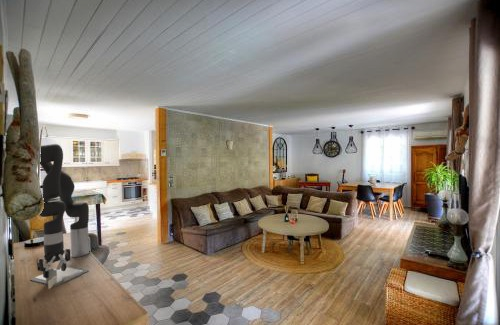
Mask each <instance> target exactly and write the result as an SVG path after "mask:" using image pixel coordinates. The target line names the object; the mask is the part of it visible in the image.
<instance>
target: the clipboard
mask: <svg viewBox="0 0 500 325" xmlns="http://www.w3.org/2000/svg"><path fill="white" fill-rule="evenodd" d="M89 271H90V270H88V269H83V268H78V267H74V266H68V265H66V270H65V271H61V268H60V270H57V282H56V283H55V284H54V285H53V287H54V288H55V287H58V286H60V285H63V284H64V283H67V282H68V281H70V280H71V281H72V280H73V279H76V278H78V277H79V276H81V275H85V274H86V273H89ZM31 280H32V281H31ZM29 281H31V282H35V283H40V284H43V283H44V284H45V285H47V286H48V281H49V280H48V281H46V278H44V277H43V273H42V274H40V275H37V276H34V277H32V278H30V279H29ZM44 284H43V285H44Z"/></svg>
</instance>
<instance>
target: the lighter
mask: <svg viewBox="0 0 500 325" xmlns="http://www.w3.org/2000/svg"><path fill="white" fill-rule="evenodd" d="M63 262H64V261H59V263H58V265H57V267H56V268H54V267H51V268H50V267H49V269H48V270H49V278H46V281H48V280H51V279H52V278H53V277H55V276H57V270H60V268H61V266H62V264H63Z"/></svg>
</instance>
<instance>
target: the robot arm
mask: <svg viewBox="0 0 500 325" xmlns="http://www.w3.org/2000/svg"><path fill="white" fill-rule="evenodd" d="M40 146H41V162H40V163H39V165H40V166H41V168H42V169H43V170H44V172H45V173H46V175H45V177H44V178H43V181H42V195H43V198H44V202H45V203H44V209H43V211H42V213H41V214H40V215H39V216H40V217H42V218H47V217H53V216H56V217H55V218H54V219H51V220H48V221H45V222H44V223H43V252H44V256H43V257H41V258H37V259H36V268H37V271H38V272H42V274H43V277H44V278H49V270H48V269H50V267H51V266H52V265H53V264H54V263H56V262H58V261H59V262H60V261H64V262H63V264H62V266H61V271H65V270H66V266H67V263H68V262H70V261H71V257H72V258H79V257H83V256H86V255H88V254H90V253H91V251H92V250H91V237H90V236H89V220H90V216H89V215H90V211H89V210H90V208H89V207H90V206H89V204H88V202H75V201H73V198H72V196H73V193H74V191H75V183H74V181H73V179H72V177H71V176H70V175H69V174H67V172H65V171H63V170H62V168H63V163H64V162H63V161H64V151H63V148H62V147H61V145H60V144H57V143H53V144H45V145H40ZM52 162H53V163H52ZM57 198H59V200H57V201H51V200H55V199H57ZM65 213H66V216H67V217H70V218H78V221H75V222H73V223H71V224H70V228H69V229H70V230H69V231H70V248H65V247H64V234H63V219H64V218H63V217H64V214H65ZM64 248H65V249H64ZM89 251H90V252H89ZM63 255H64V256H63Z"/></svg>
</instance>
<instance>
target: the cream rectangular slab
mask: <svg viewBox="0 0 500 325" xmlns="http://www.w3.org/2000/svg"><path fill="white" fill-rule="evenodd" d="M56 282H57V276H55V277H53V278H52V279H51V280H49V281H48V285H47V286H48V289H49V290H50V289H52V287H54V286H53V285H54V284H55V283H56Z"/></svg>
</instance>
